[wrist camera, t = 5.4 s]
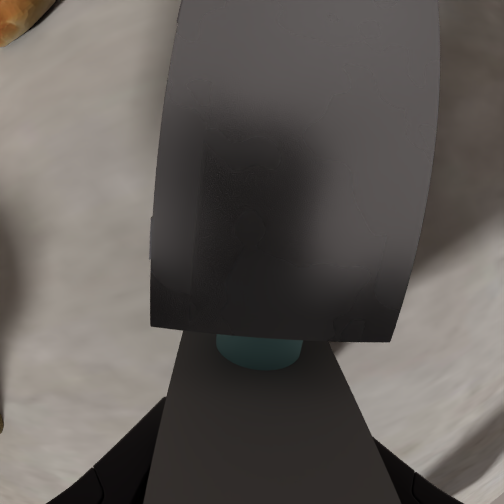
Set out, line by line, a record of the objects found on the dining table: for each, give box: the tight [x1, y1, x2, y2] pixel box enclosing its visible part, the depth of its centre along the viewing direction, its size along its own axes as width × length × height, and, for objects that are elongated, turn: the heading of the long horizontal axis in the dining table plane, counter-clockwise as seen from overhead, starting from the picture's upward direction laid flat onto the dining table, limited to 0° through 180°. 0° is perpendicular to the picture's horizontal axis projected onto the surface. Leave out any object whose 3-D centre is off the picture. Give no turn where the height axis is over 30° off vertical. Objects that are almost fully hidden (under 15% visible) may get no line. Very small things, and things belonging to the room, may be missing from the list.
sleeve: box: [149, 0, 440, 342], centre depth 7 cm, size 6×8×5 cm
